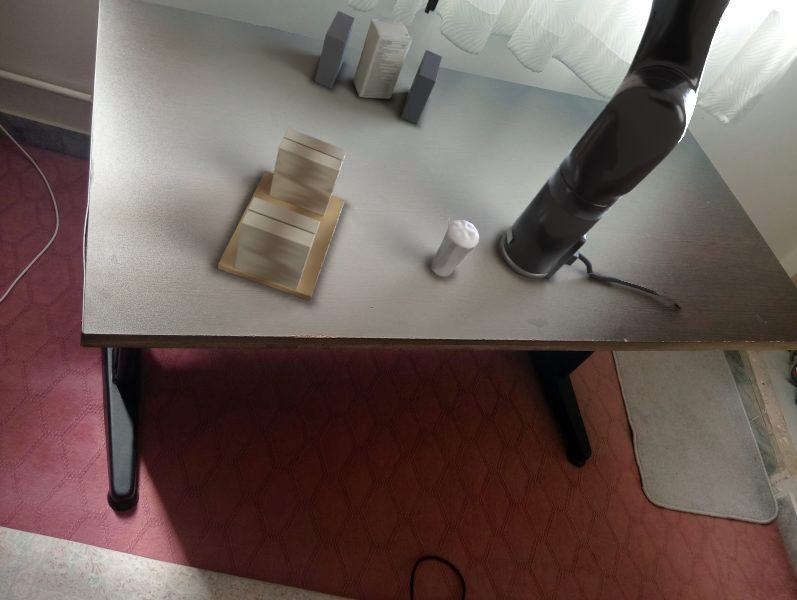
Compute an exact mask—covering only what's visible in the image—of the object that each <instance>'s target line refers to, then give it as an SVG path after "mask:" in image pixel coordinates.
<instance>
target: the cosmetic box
mask: <svg viewBox="0 0 797 600" xmlns="http://www.w3.org/2000/svg"><path fill="white" fill-rule="evenodd" d="M365 36H366V37H365V40H364V43H363V47H362V50H361V52H360V53H361V54H360V57H359V61H358V64H357V67H356V71H355V73H354V77H353V84H354V87H355V90H356V92H357V94H358V97H359V98H370V99H385V100H386V99H387V100H388V99H391V98H392V95H393V93H394V90H395V88H396V84H397V82H398V79H399V76H400V75H401V74H400V73H401V71H402V68H403V65H404V64H405V60H406V57H407V55H408V52H409V49H410V47H411V44H412V41H413V37H412V35H411V33H410V31H409V28H408V27H407V25H406V23H405V22H400V21H394V20H387V19H386V20H384V19H376V18H371V20H370V24H369V27H368V30H367V33H366V35H365Z"/></svg>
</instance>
